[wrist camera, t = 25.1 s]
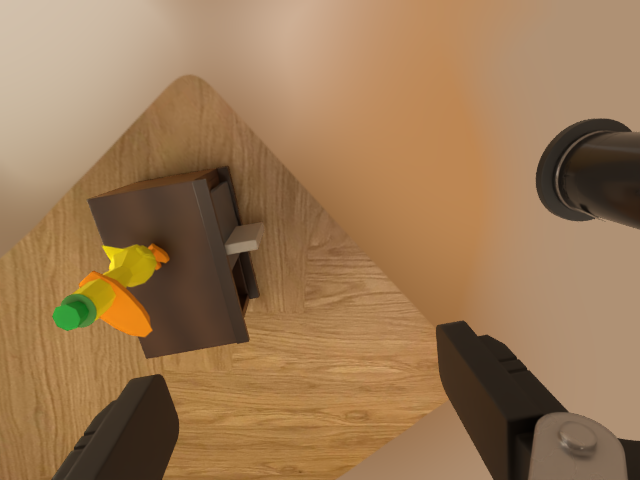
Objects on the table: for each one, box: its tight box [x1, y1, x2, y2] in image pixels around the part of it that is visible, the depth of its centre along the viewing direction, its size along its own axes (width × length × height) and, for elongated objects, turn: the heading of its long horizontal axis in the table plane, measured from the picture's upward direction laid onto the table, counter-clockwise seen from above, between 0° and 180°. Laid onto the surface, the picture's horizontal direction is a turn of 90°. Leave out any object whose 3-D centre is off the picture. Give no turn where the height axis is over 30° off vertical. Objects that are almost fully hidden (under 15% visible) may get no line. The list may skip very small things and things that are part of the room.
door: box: [211, 181, 264, 271], centre depth 36 cm, size 4×8×8 cm, turn 10°
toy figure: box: [52, 243, 170, 337], centre depth 26 cm, size 7×4×12 cm, turn 40°
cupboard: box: [87, 166, 260, 359], centre depth 37 cm, size 10×16×10 cm, turn 10°
